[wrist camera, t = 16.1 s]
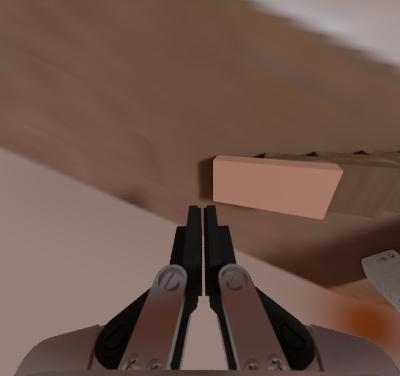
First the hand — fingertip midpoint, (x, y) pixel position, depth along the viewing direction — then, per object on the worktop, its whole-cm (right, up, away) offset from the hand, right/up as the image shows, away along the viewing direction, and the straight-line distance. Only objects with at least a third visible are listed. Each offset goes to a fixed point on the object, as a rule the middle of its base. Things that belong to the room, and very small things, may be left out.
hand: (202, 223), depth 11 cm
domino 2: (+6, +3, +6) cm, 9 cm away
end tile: (+1, +3, +6) cm, 7 cm away
